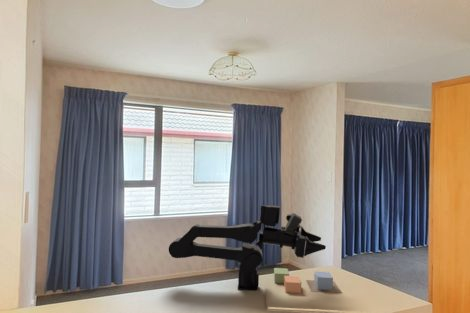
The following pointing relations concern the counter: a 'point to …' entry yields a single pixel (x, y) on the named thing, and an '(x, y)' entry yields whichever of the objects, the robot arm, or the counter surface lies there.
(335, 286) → the walnut board
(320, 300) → the counter surface
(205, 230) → the robot arm
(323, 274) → the base brick
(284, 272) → the olive brick
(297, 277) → the terracotta brick
